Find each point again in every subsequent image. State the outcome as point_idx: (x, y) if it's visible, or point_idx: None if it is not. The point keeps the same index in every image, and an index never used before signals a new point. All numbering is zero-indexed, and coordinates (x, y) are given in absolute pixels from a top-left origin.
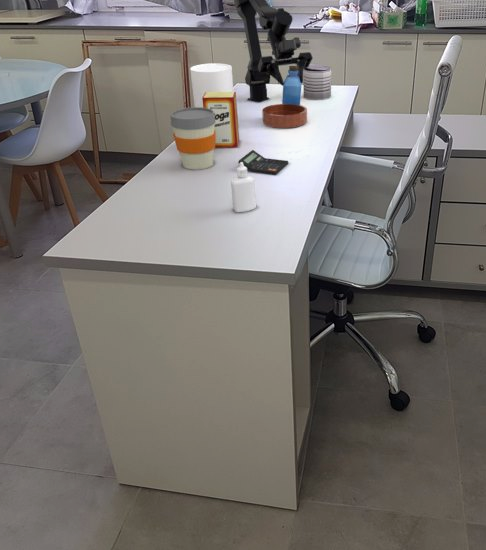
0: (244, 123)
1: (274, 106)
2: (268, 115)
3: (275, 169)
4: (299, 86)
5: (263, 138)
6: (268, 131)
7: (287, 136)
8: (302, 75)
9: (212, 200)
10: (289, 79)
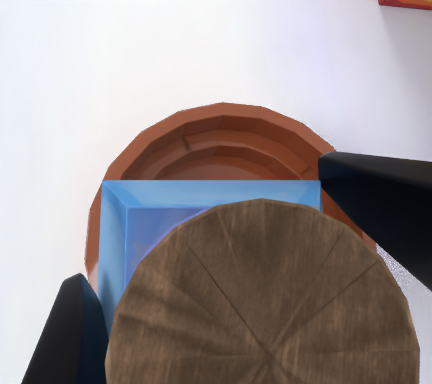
0: None
1: None
2: (322, 143)
3: None
4: (124, 181)
5: (295, 19)
6: (288, 104)
7: (198, 30)
8: (40, 357)
9: None
10: (270, 198)
